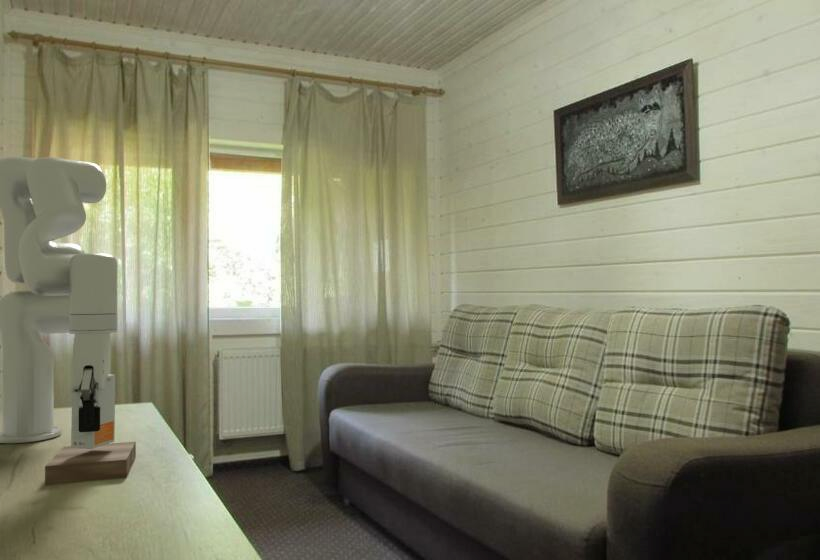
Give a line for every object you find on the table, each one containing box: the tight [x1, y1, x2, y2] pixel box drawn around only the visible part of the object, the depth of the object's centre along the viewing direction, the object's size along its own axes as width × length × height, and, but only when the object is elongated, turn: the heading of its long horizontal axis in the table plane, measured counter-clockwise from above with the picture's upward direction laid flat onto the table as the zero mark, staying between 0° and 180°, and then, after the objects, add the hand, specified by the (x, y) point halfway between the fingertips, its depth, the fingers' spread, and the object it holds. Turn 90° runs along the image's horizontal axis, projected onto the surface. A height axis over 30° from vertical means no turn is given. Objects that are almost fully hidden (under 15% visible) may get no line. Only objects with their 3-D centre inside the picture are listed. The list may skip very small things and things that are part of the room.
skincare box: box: [70, 373, 116, 449], centre depth 110 cm, size 6×4×12 cm
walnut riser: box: [44, 440, 137, 486], centre depth 110 cm, size 14×12×3 cm
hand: (93, 426), depth 110 cm, fingers closed on skincare box, 7 cm apart
